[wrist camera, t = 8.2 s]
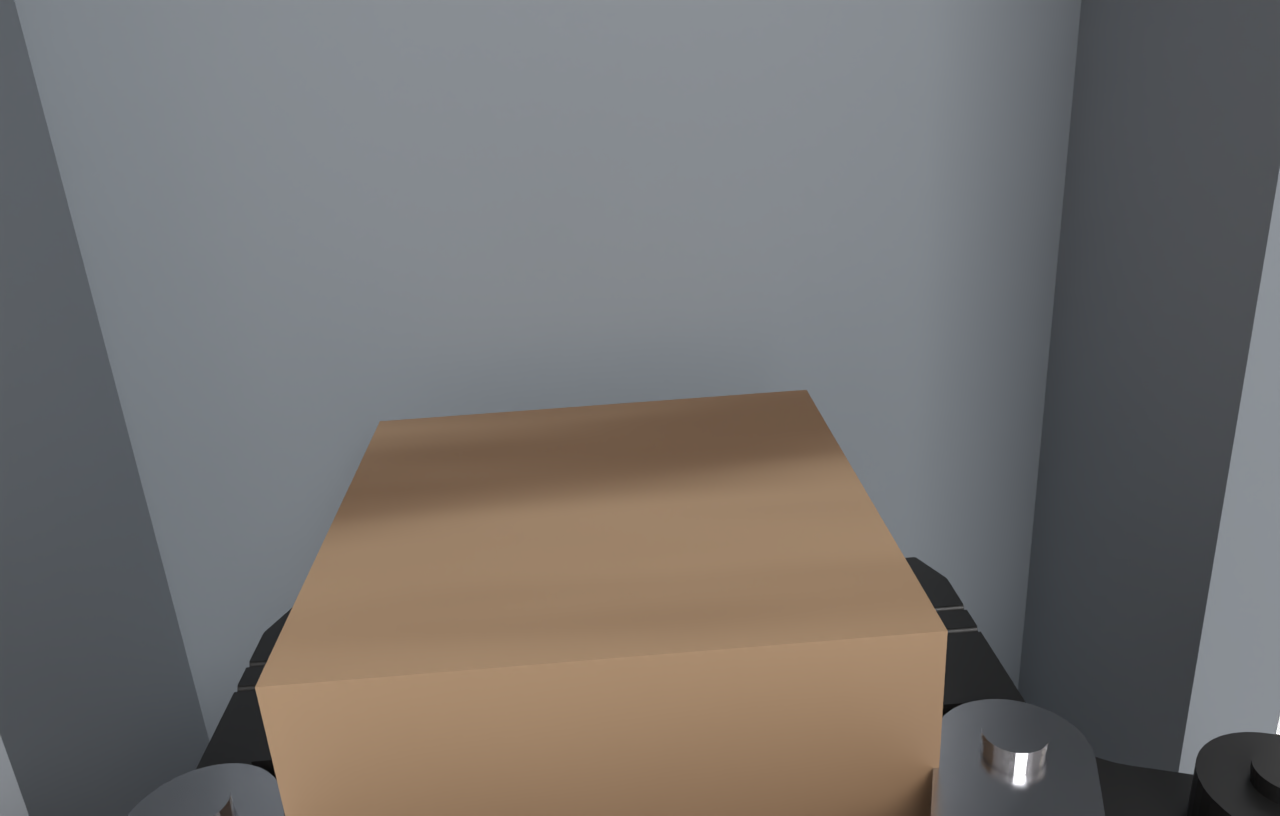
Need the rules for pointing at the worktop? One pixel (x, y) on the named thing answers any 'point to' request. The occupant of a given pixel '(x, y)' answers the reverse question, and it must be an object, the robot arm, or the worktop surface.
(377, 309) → the grey tote
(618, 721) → the walnut cube
